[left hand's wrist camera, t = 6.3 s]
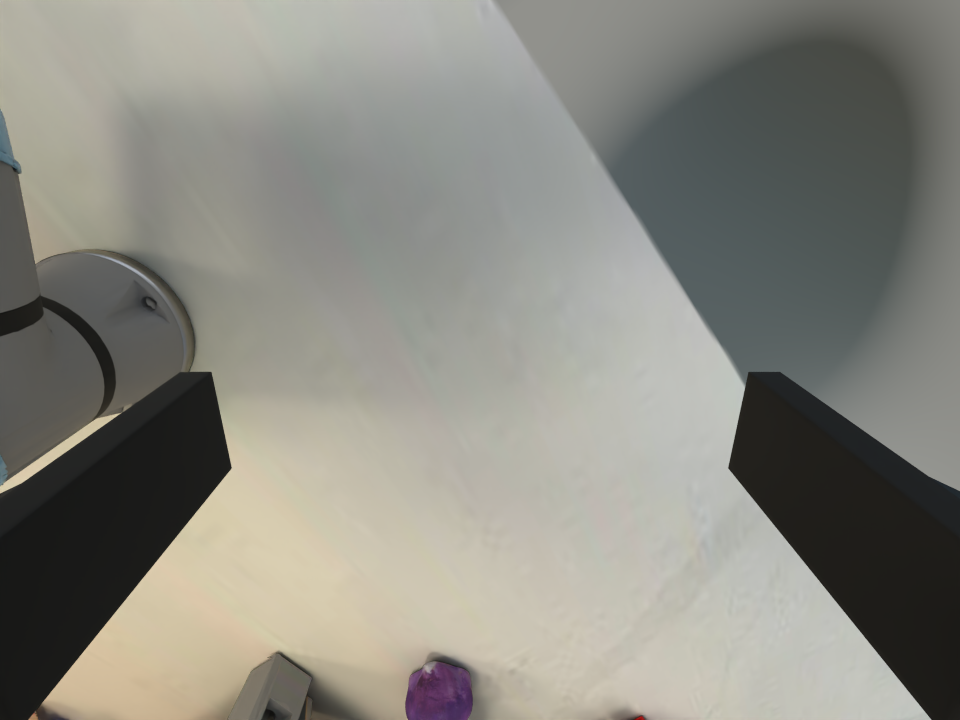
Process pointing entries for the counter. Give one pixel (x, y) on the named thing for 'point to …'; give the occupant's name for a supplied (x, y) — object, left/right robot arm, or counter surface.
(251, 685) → the grey record storage rack
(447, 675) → the figurine
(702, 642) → the counter surface
